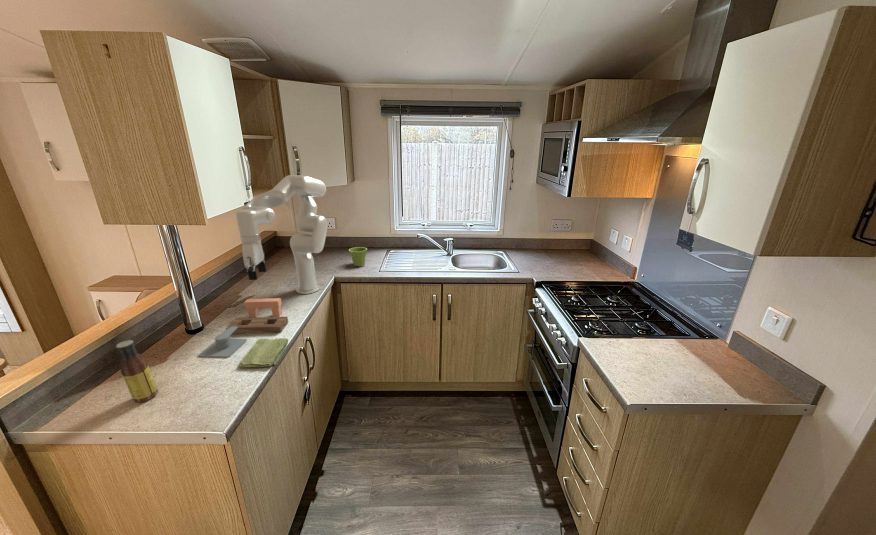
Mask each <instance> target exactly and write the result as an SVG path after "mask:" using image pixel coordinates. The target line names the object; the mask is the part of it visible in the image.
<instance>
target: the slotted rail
mask: <svg viewBox="0 0 876 535" xmlns="http://www.w3.org/2000/svg"><path fill="white" fill-rule="evenodd" d="M288 324H289V319H288V316H280V317H273V316H264V317H263V316H262V317H259V316H256V317H252V318H249V317H236V318H235V319H234V320H233V321H232V322H231V323H229V325H228V326H226V328H225V330H227V329H228V328H230V327H232V326H237V327H238V328H237V329H236V330H235V331H234V332H233V333H232V334H231V335H247V334H246V333H257V334H277V333H278V334H279V333H282V332H283V330H284V329H285V328H286V326H287V325H288Z"/></svg>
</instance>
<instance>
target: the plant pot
mask: <svg viewBox="0 0 876 535" xmlns="http://www.w3.org/2000/svg"><path fill="white" fill-rule="evenodd" d="M367 250H368V248H367V247H363V246H359V247H358V246H357V247H351V248H349V249H348V251H349V254H350V256H351V260H352V265H353V267H355V266H356V267H357V266H362V267H364V266H365V264H366V255H367Z"/></svg>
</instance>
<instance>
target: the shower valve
mask: <svg viewBox="0 0 876 535" xmlns="http://www.w3.org/2000/svg"><path fill="white" fill-rule="evenodd" d="M237 328H238V327H237V326H232V327H230V328H228V329H227V330H226V329H225V330H224V331H222V332H221V333H219V334H218V335H217V336H215V337H214V341H213V342H212V343H211V344H210V345H209V346H207V347H206V348H205V349H203V350H202V351H200V353H198V355H197V356H198V357H199V358H215V357H217V358H221V359H223V358H225V359H226V358H227V357H228V358H230V357H232V356H233V355H234V354H235V353H236V352H237V351H238V350H239V349H240V348H241V347H242V346H243V345H245V344H246V343H247V342H246V341H248V340H247V338H231V335H233V334H232V333H233V332H234V331H235V330H236V329H237ZM231 355H232V356H231ZM228 358H227V359H228Z"/></svg>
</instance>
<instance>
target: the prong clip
mask: <svg viewBox="0 0 876 535" xmlns="http://www.w3.org/2000/svg"><path fill="white" fill-rule="evenodd" d="M243 303H244V308H245V309H246V310H247V315H248V318H249V317H252V318H255V317H258V316H259V312H258V309H261V308H262V309H263V308H264V309H265V308H271V313H272V317H275V316H280V315H281V316H282V314H283V311H282V298H281V297H276V298H275V297H274V298H271V297H270V298H267V297H266V298H247V299H246V300H245V301H244V302H243ZM281 316H280V317H281Z"/></svg>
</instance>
